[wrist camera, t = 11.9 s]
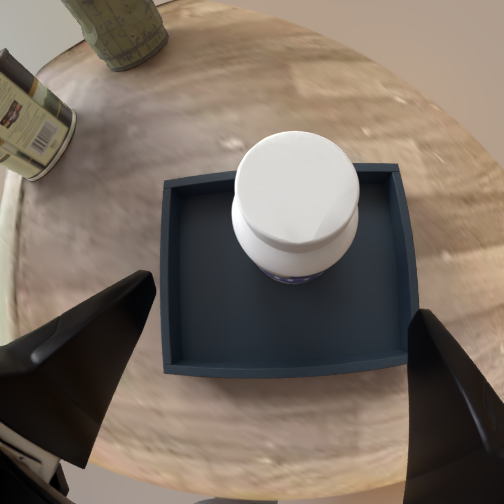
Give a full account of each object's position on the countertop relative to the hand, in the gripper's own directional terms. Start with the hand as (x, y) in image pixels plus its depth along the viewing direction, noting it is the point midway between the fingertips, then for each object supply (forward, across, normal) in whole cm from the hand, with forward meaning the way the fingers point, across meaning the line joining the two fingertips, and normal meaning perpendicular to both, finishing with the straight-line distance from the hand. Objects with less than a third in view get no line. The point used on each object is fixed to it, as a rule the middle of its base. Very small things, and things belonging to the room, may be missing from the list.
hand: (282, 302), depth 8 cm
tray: (+8, 0, +5) cm, 9 cm away
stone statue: (+25, +21, -13) cm, 35 cm away
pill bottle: (+8, 0, +3) cm, 9 cm away
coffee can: (+16, +30, -3) cm, 34 cm away
